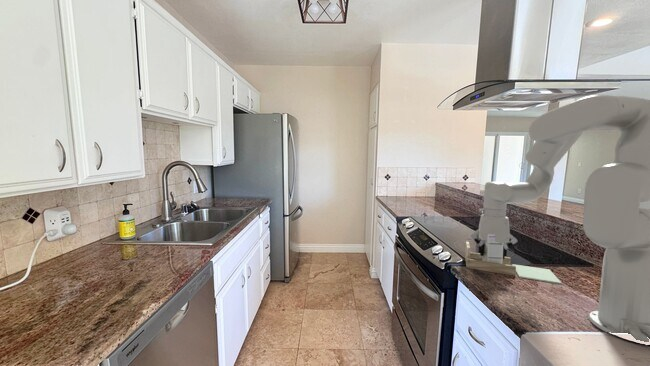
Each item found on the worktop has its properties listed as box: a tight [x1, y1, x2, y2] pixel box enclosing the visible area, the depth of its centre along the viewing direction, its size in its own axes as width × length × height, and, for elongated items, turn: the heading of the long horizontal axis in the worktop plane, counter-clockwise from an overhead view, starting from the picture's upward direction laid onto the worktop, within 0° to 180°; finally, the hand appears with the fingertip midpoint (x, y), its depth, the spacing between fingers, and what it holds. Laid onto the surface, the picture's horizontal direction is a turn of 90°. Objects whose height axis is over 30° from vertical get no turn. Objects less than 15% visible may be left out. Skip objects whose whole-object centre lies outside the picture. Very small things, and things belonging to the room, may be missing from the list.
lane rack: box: [464, 241, 517, 276], centre depth 103 cm, size 10×16×8 cm, turn 64°
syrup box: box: [482, 234, 503, 264], centre depth 102 cm, size 6×6×14 cm
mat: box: [511, 263, 562, 285], centre depth 96 cm, size 12×12×1 cm
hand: (491, 255), depth 102 cm, fingers closed on syrup box, 6 cm apart
